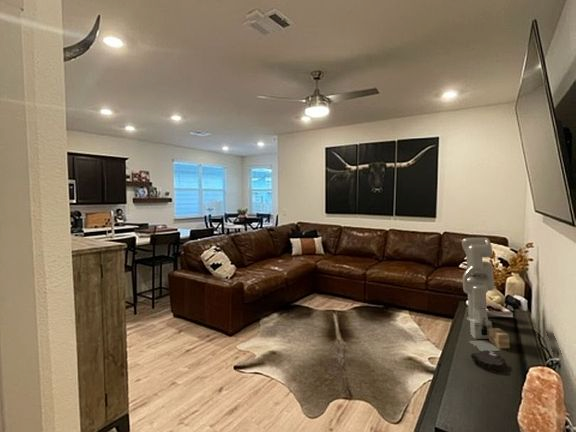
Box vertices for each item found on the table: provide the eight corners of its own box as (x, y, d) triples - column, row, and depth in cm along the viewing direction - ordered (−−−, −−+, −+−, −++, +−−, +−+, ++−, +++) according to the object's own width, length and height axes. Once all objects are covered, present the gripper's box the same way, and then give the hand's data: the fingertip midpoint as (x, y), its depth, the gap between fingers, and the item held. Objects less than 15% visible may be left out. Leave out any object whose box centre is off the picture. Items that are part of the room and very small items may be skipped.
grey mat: (468, 341, 201) (468, 341, 201) (486, 340, 201) (486, 340, 200) (481, 351, 187) (481, 351, 187) (500, 350, 187) (500, 350, 187)
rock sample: (512, 373, 163) (511, 364, 163) (478, 372, 166) (477, 363, 166) (497, 357, 180) (497, 348, 180) (466, 356, 183) (466, 347, 183)
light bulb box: (487, 334, 209) (486, 318, 209) (492, 338, 203) (492, 321, 202) (470, 334, 210) (469, 318, 210) (475, 339, 204) (474, 322, 203)
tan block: (489, 341, 199) (488, 328, 199) (499, 340, 199) (498, 328, 199) (499, 348, 189) (498, 335, 189) (509, 348, 189) (509, 334, 189)
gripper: (466, 301, 215) (468, 327, 215) (481, 309, 197) (482, 338, 198) (478, 300, 214) (479, 327, 215) (493, 309, 197) (495, 337, 198)
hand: (481, 332), depth 206 cm, fingers closed on light bulb box, 6 cm apart
